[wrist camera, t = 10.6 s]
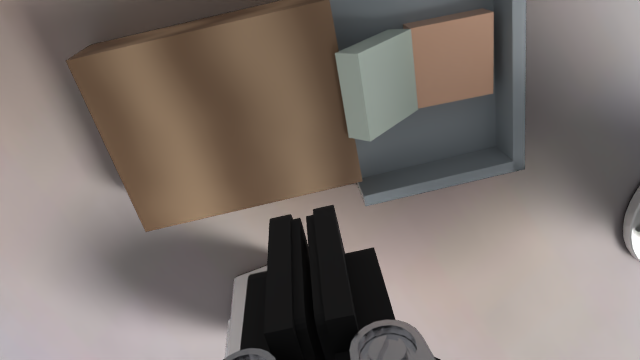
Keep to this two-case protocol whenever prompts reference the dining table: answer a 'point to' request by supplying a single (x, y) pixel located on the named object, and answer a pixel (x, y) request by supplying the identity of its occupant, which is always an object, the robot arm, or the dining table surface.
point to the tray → (443, 106)
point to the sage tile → (377, 83)
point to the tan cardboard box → (222, 111)
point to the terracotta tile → (453, 56)
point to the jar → (237, 312)
